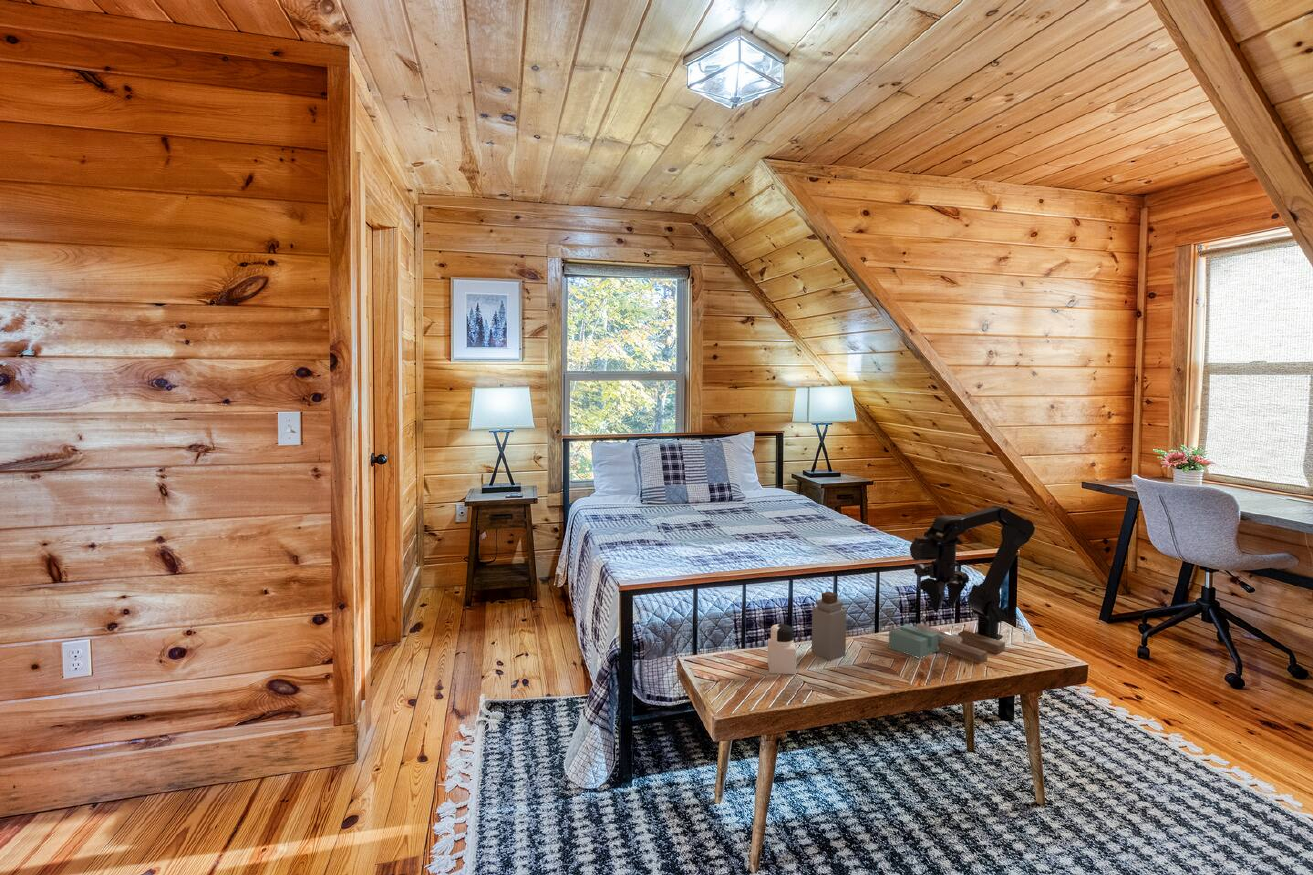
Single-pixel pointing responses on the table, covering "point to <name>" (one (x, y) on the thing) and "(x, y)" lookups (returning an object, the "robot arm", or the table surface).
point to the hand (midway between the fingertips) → (943, 608)
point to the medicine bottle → (781, 650)
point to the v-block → (913, 640)
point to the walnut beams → (970, 651)
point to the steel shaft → (942, 634)
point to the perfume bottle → (829, 628)
